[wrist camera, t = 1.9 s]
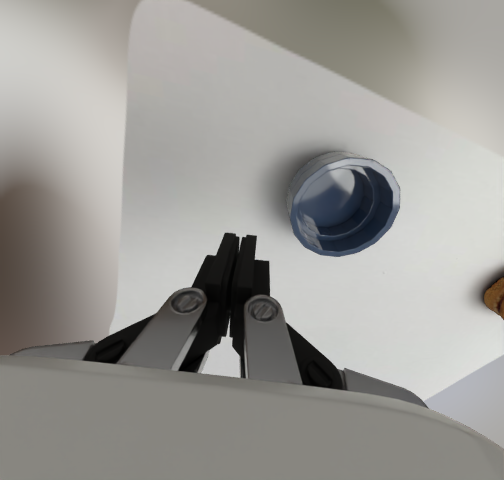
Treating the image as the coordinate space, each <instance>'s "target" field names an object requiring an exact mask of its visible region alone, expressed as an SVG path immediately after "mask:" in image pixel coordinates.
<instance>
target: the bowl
mask: <svg viewBox="0 0 504 480" xmlns="http://www.w3.org/2000/svg"><path fill="white" fill-rule="evenodd" d="M286 204H287V208H288V212H289V217H290V221H291V225H292V229H293V233H294V235H295V236H296V237H297V239H298V240H299V241H300V242H301V243H302V245H303V246H304V247H305V248H307V249H309V250H311V251H313V252H315V253H317V254H319V255H325V256H334V257H340V256H345V255H350V254H354V253H357V252H360V251H362V250H364V249H366V248H367V247H369V246H371V245H373V244H375V243H376V242H377V241H378V240H379V239H380V238H381V237H382V236H383V235H384V234H385V233H386V232H387V231H388V230H389V229H390V228H391V226H392V224H393V222H394V220H395V218H396V216H397V214H398V211H399V209H400V187H399V185H398V183H397V181H396V180H395V178H394V176H393V174H392V172H391V171H390V170H389V169H387V168H386V167H384V166H383V165H381V164H379V163H378V162H376V161H375V160H373V159H369V158H366V157H363V156H360V155H356V154H353V153H344V152H330V153H327V154H324V155H321V156H318V157H315V158H313V159H312V160H311V161H309V162H308V163H307V164H306V165H304V166H303V167H302V168H301V169H299V170H298V172H297V173H296V175H295V177H294V178H293V180H292V182H291V183H290V185H289V189H288V194H287V200H286Z"/></svg>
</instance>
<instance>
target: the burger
mask: <svg viewBox="0 0 504 480" xmlns="http://www.w3.org/2000/svg"><path fill="white" fill-rule="evenodd" d="M484 301H485V304H486V306H487V307H488V308H489V309H491V310H492V311H494V312H495V313H497V314H498V315H499V316H501V317H502V318H503V320H504V277H503V278H501V279H499V280H498V281H497V282H496V283H494V285H492V287H490V288H489V289H488V290H487V291H486V293H485V295H484Z"/></svg>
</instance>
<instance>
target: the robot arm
mask: <svg viewBox="0 0 504 480" xmlns="http://www.w3.org/2000/svg"><path fill="white" fill-rule="evenodd" d="M256 239H257V236H254V235H247V236H246V237H242V241H241V245H240V250H239V237H237V236H236V234H233V233H225V234H224V237H223V239H222V242H221V244H220V247H219V249H218V252H217V254H216V256H213V255H207V256H206V258H205V260H204V262H203V264H202V266H201V268H200V270H199V272H198V274H197V276H196V279H195V281H194V283H193V285H192V287H189V288H183V289H180V290H178V291H176V292H174V293H173V294H172V295H171V296H170V297H169V298H168V299H167V301H166V302H165V303H164V304H163V306H162V307H161V308H160V309H159V311H158V312H157V313H156V314H154V315H152V316H150V317H148V318H146V319H143V320H141V321H139V322H137V323H135V324H133V325H131V326H129V327H127V328H125V329H122V330H120V331H118V332H116V333H114V334H112V335H110V336H108V337H106V338H104V339H103V340H101V341H99V342H98V343H96V344H95V343H94V341H84V342H74V343H64V344H54V345H45V346H35V347H29V348H25V349H21V350H19V351H17V352H14V353H12V354H10V355H4V356H0V480H504V449H503V448H502V447H500V446H499V445H497V444H496V443H494V442H493V441H491V440H490V439H488V438H486V437H485V436H483V435H482V434H480V433H478V432H477V431H475V430H473V429H471V428H470V427H467V426H466V425H464V424H462V423H460V422H458V421H455V420H453V419H452V418H449V417H447V416H445V415H443V414H440V413H438V412H436V411H433V410H430V409H429V408H428V407H427V406H426V404H425V403H424V402H423V401H422V400H421V399H420V398H419V397H417V396H416V395H415V394H414V393H413V392H411V391H409V390H407V389H404V388H402V387H399V386H396V385H393V384H390V383H387V382H384V381H381V380H378V379H375V378H373V377H370V376H367V375H364V374H361V373H358V372H355V371H352V370H349V369H346V368H344V370H343V371H342V370H339V369H337V368H336V367H335V366H334V365H333V363H332V362H331V361H330V360H329V359H327V358H326V357H325V356H324V355H323V354H322V353H321V352H319V351H318V350H317V349H316V348H315V347H314V346H313V345H311V344H310V343H309V342H308V341H307V340H306V339H305V338H303V337H302V336H301V335H300V334H299V333H298V332H297V331H295V330H294V329H293V328H292V327H291V326H290V325H289V324H287V323H286V321H285V318H284V314H283V310H282V308H281V305H280V304H279V303H278V301H277V300H275V299H274V298H272V297H270V275H269V261H263V260H255V250H256ZM229 319H230V337H233V341H232V347H233V348H234V349H235V350H236V352H237V353H238V354H239V356H240V359H239V362H240V378H236V377H227V376H218V375H209V374H201V372H202V370H203V367H204V365H205V363H206V360H207V358H208V355H209V350H210V349H211V348H213V347H214V346H216V345H217V344H220V342H221V337H222V336H223V337H226V334H227V329H228V324H229Z"/></svg>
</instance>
